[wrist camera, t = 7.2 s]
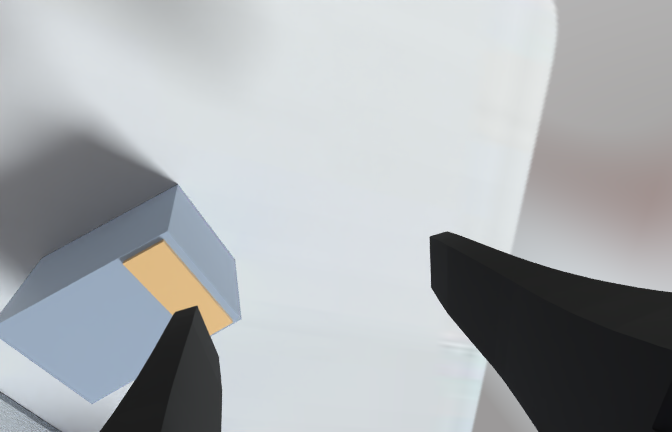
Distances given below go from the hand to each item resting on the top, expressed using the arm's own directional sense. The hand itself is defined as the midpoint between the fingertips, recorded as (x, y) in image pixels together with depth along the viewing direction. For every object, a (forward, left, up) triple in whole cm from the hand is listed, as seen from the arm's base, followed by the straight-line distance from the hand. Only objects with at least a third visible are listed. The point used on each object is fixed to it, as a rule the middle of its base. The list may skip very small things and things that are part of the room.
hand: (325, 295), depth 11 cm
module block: (0, +8, -9) cm, 12 cm away
